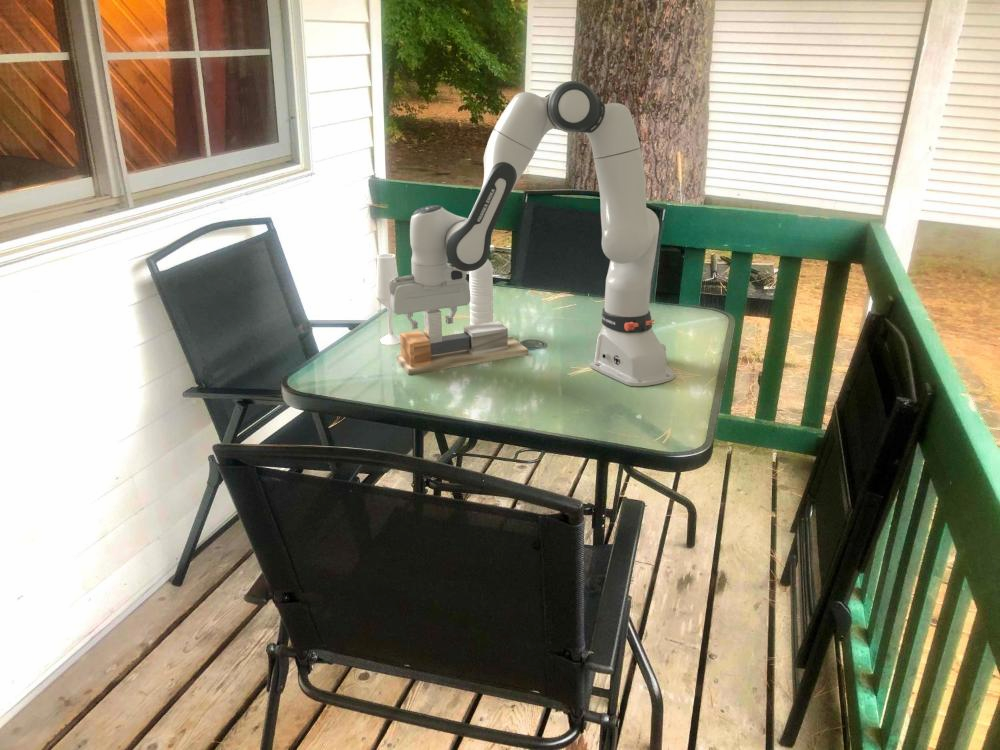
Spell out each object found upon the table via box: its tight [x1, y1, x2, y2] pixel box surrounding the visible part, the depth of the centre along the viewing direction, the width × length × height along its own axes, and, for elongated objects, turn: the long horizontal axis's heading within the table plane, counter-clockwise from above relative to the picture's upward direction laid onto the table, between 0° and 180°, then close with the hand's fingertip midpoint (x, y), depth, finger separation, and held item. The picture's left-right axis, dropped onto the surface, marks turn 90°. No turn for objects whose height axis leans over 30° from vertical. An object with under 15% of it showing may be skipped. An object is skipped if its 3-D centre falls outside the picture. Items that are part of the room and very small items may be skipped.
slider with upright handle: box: [422, 309, 471, 355], centre depth 198 cm, size 4×22×11 cm, turn 114°
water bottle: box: [468, 244, 495, 326], centre depth 212 cm, size 9×6×25 cm
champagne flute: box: [375, 253, 401, 346], centre depth 209 cm, size 7×7×24 cm
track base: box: [396, 321, 529, 375], centre depth 201 cm, size 10×33×8 cm, turn 114°
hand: (431, 325), depth 195 cm, fingers open, 8 cm apart
